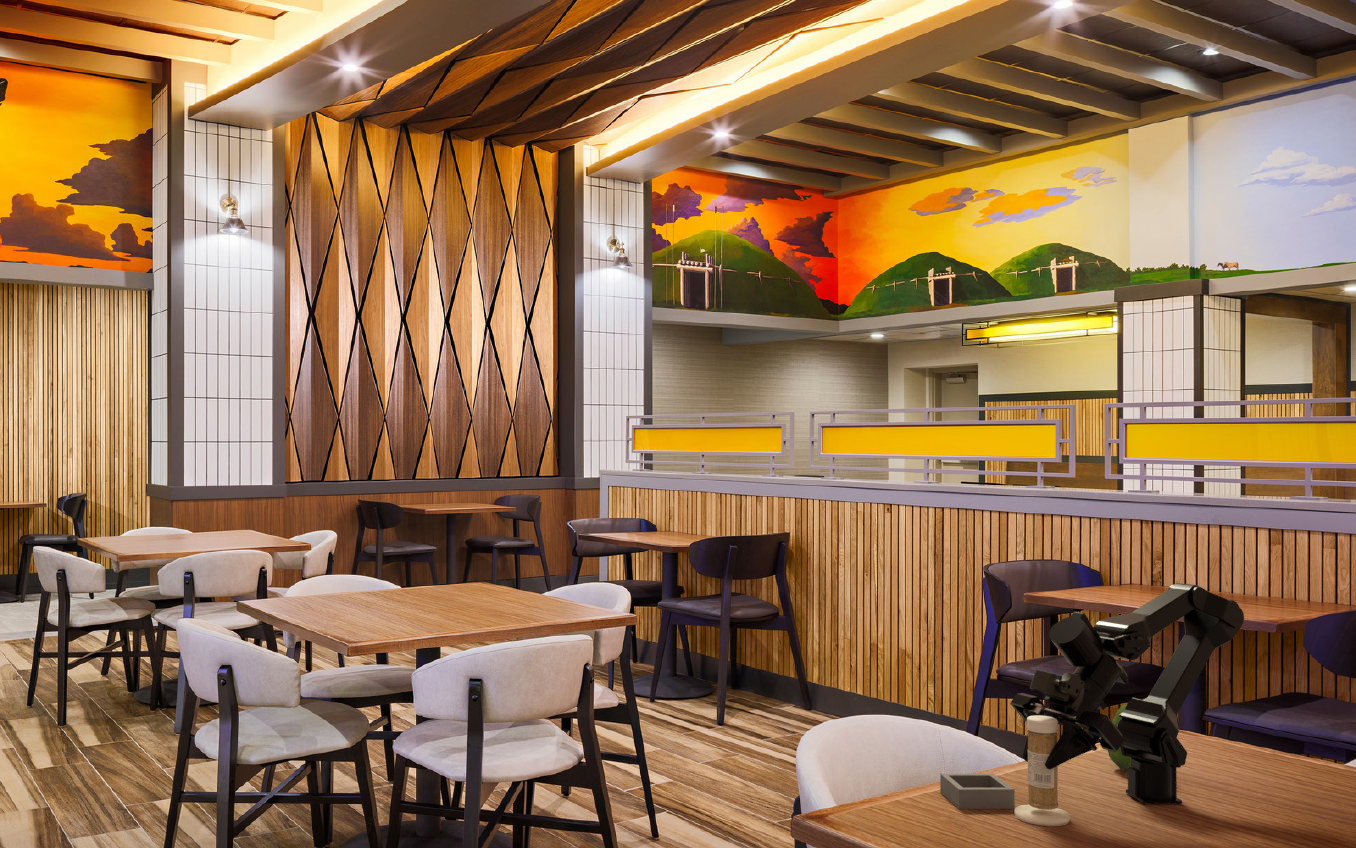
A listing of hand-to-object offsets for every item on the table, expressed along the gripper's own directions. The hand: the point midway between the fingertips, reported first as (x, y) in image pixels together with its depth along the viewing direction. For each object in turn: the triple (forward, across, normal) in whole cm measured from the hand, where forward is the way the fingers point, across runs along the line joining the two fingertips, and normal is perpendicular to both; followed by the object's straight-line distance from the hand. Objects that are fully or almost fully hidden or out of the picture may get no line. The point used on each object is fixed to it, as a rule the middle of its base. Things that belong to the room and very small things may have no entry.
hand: (1035, 763), depth 162 cm
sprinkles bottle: (+4, 0, +6) cm, 7 cm away
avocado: (-20, -15, +32) cm, 41 cm away
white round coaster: (+5, 0, +7) cm, 8 cm away
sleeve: (+8, -11, +4) cm, 14 cm away
